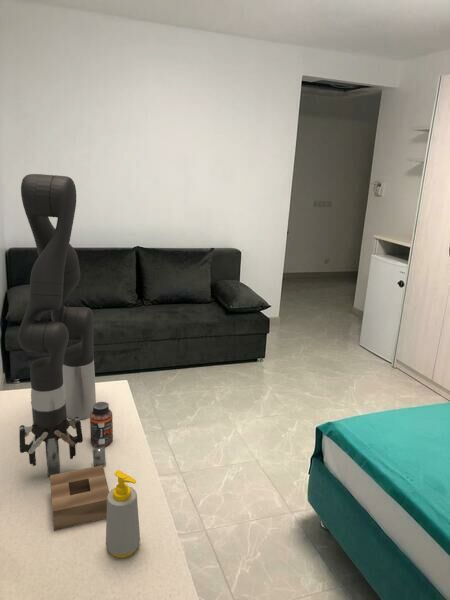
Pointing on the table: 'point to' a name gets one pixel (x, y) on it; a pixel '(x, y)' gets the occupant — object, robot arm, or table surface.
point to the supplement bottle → (101, 424)
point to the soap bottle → (122, 518)
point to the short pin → (99, 455)
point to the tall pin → (52, 457)
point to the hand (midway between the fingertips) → (53, 460)
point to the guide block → (79, 497)
